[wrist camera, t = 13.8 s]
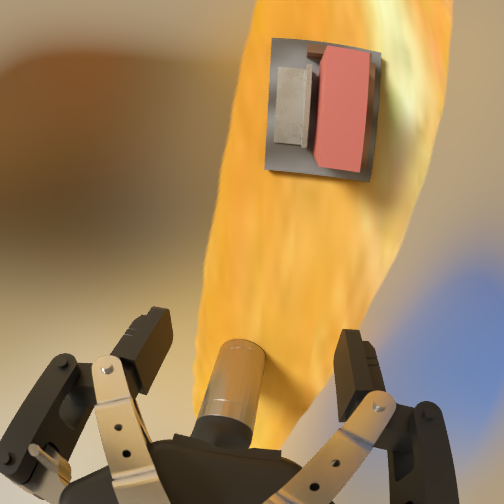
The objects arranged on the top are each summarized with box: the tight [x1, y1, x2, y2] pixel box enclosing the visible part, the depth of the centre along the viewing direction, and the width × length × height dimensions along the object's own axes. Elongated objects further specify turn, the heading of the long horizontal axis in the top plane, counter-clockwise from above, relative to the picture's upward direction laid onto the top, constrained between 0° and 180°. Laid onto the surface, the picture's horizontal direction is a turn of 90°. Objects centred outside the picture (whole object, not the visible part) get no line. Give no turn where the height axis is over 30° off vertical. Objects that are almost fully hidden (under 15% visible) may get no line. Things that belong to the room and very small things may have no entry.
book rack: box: [264, 38, 381, 182], centre depth 30 cm, size 18×14×6 cm
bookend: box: [274, 64, 312, 148], centre depth 30 cm, size 10×4×4 cm, turn 177°
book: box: [313, 45, 370, 173], centre depth 27 cm, size 4×12×10 cm, turn 177°
